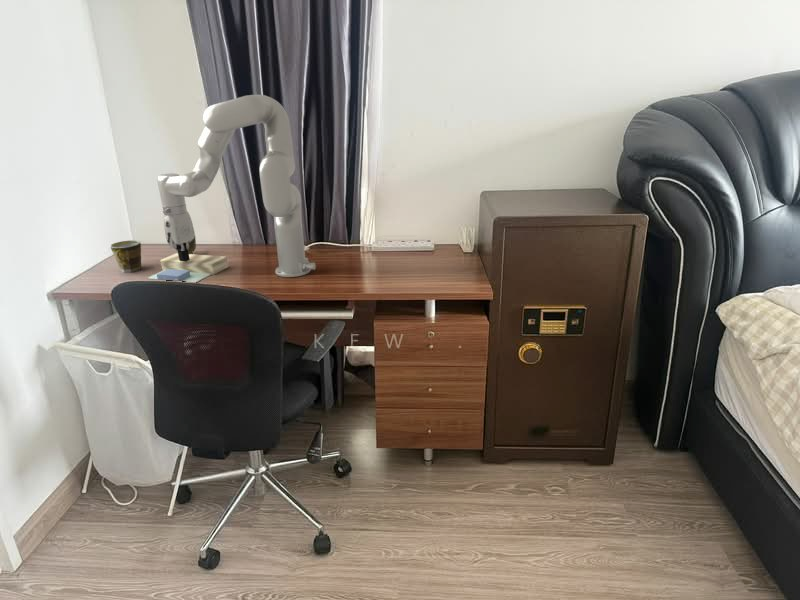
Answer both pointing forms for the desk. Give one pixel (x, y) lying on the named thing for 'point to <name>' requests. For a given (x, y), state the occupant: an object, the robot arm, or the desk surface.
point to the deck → (196, 263)
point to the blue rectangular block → (173, 275)
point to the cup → (192, 246)
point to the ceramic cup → (127, 255)
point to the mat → (193, 277)
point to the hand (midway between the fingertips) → (184, 260)
